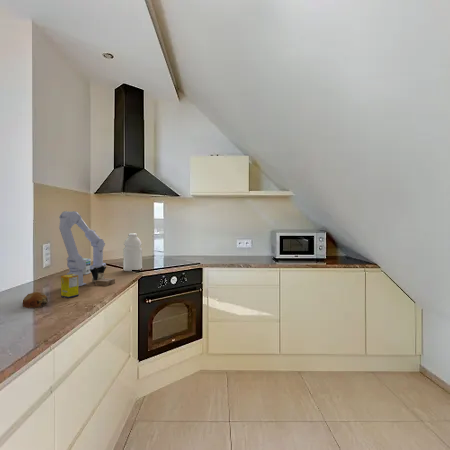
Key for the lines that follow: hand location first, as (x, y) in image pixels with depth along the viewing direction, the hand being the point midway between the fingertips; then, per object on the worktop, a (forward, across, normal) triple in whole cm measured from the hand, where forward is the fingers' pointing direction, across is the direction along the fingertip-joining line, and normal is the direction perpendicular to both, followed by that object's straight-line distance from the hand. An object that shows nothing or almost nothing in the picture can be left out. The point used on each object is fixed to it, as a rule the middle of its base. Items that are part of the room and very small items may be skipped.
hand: (98, 279), depth 205 cm
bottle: (+2, +45, 0) cm, 45 cm away
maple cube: (+1, 0, 0) cm, 1 cm away
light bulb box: (+2, +21, +27) cm, 34 cm away
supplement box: (+2, -38, -9) cm, 39 cm away
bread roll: (+2, -56, -5) cm, 56 cm away
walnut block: (+2, -6, -9) cm, 11 cm away
